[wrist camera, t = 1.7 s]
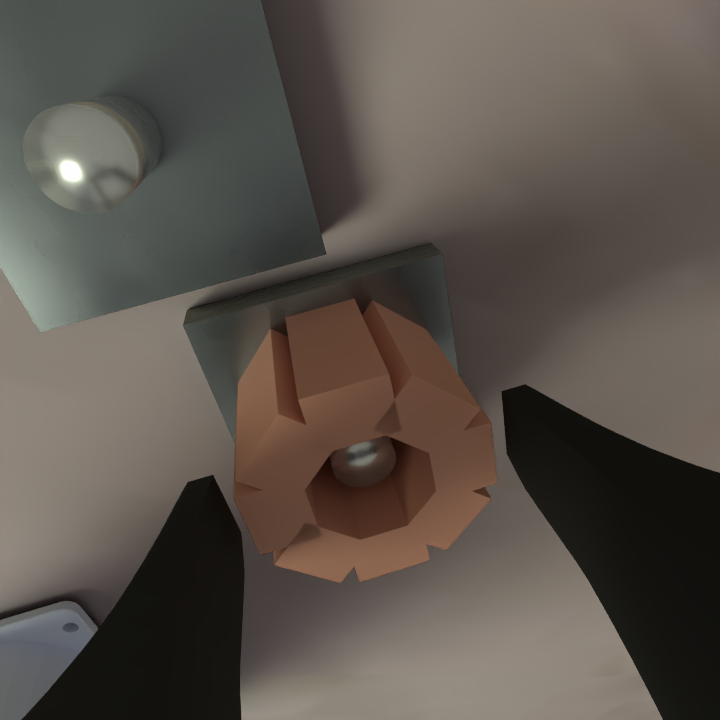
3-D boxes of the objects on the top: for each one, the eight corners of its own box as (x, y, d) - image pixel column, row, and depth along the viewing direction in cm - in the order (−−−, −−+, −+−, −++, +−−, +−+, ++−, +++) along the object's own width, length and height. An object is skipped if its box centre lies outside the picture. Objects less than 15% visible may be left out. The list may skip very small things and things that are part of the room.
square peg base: (318, 237, 14) (346, 301, 10) (59, 306, 14) (-15, 402, 10) (231, -99, 10) (222, -196, 7) (-124, -16, 10) (-356, -69, 6)
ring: (451, 443, 17) (502, 537, 14) (276, 495, 17) (284, 605, 13) (425, 278, 14) (483, 346, 11) (211, 338, 14) (199, 428, 10)
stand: (458, 433, 18) (507, 517, 15) (264, 491, 18) (268, 591, 14) (430, 243, 15) (487, 296, 11) (186, 310, 14) (168, 386, 11)
